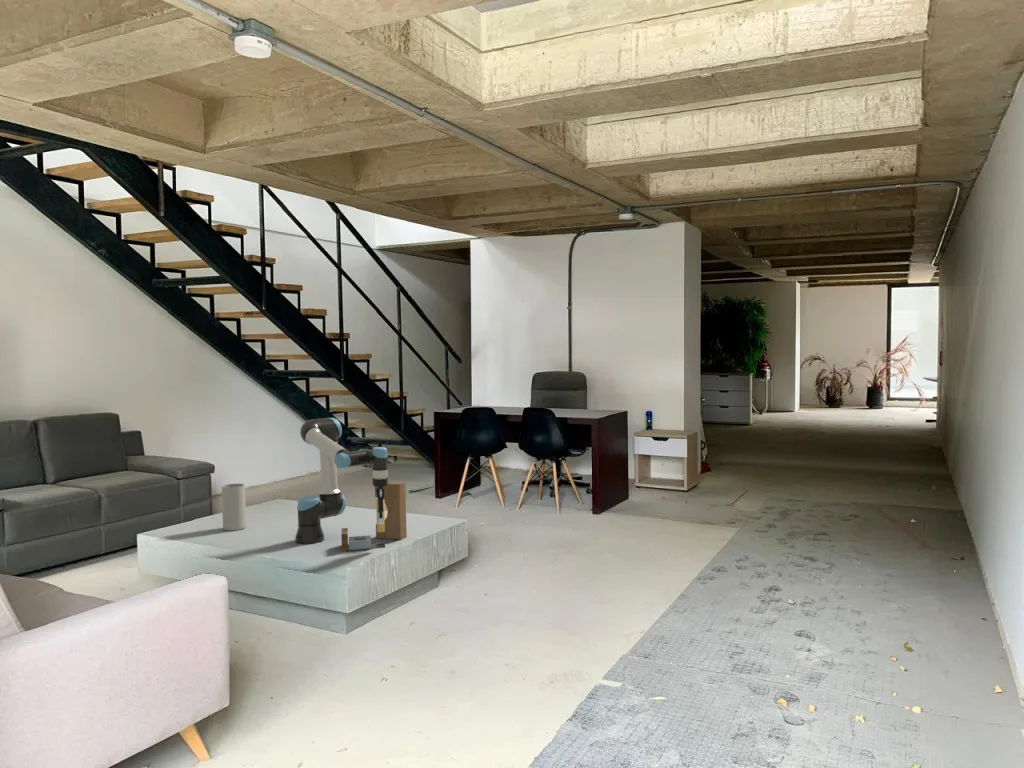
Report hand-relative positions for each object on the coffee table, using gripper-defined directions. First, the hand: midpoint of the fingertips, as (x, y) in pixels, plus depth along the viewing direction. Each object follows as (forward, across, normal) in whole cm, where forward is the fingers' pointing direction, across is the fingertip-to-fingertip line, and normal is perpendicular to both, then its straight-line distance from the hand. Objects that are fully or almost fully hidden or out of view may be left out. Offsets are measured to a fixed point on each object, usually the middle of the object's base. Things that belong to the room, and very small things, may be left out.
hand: (380, 523), depth 389 cm
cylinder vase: (+16, -69, -80) cm, 107 cm away
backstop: (+14, -6, -18) cm, 24 cm away
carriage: (+14, -6, -10) cm, 18 cm away
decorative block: (+14, -22, +6) cm, 27 cm away
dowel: (+4, 0, 0) cm, 4 cm away
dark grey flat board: (+14, -6, -7) cm, 17 cm away
